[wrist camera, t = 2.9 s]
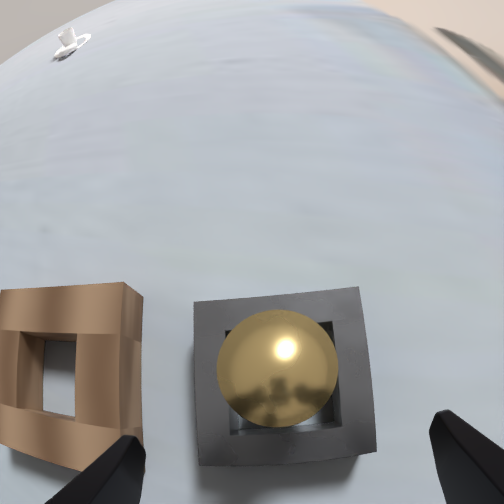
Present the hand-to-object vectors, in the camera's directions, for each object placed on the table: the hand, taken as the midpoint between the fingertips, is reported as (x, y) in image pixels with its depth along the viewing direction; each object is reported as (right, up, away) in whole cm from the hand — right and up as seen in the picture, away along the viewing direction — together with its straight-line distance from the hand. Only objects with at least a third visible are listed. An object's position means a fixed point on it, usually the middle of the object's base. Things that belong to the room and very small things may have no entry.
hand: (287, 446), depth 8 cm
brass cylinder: (+1, -2, +10) cm, 10 cm away
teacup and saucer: (-37, +42, +36) cm, 66 cm away
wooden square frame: (-14, -4, +11) cm, 18 cm away
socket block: (+1, -2, +10) cm, 10 cm away
